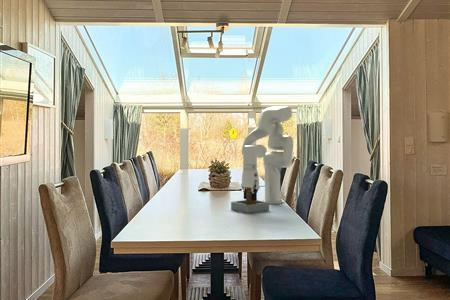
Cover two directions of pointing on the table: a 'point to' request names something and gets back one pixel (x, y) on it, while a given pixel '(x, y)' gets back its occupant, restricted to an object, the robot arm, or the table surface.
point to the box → (249, 206)
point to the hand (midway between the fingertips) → (250, 199)
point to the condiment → (249, 197)
